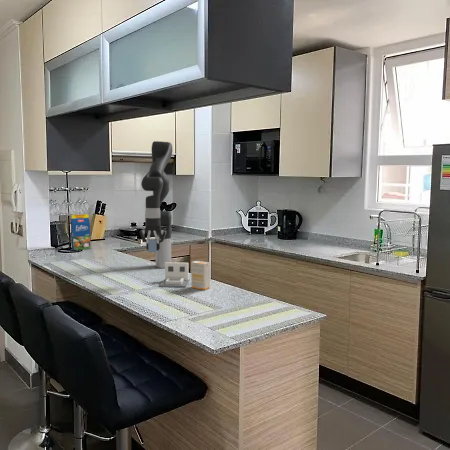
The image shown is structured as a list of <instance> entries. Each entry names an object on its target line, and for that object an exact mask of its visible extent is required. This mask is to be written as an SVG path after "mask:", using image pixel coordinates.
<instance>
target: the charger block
mask: <svg viewBox="0 0 450 450" xmlns="http://www.w3.org/2000/svg"><path fill="white" fill-rule="evenodd" d="M147 252H148V253H156V252H157V240H156V239H155V238H150V240H148V249H147Z"/></svg>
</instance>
